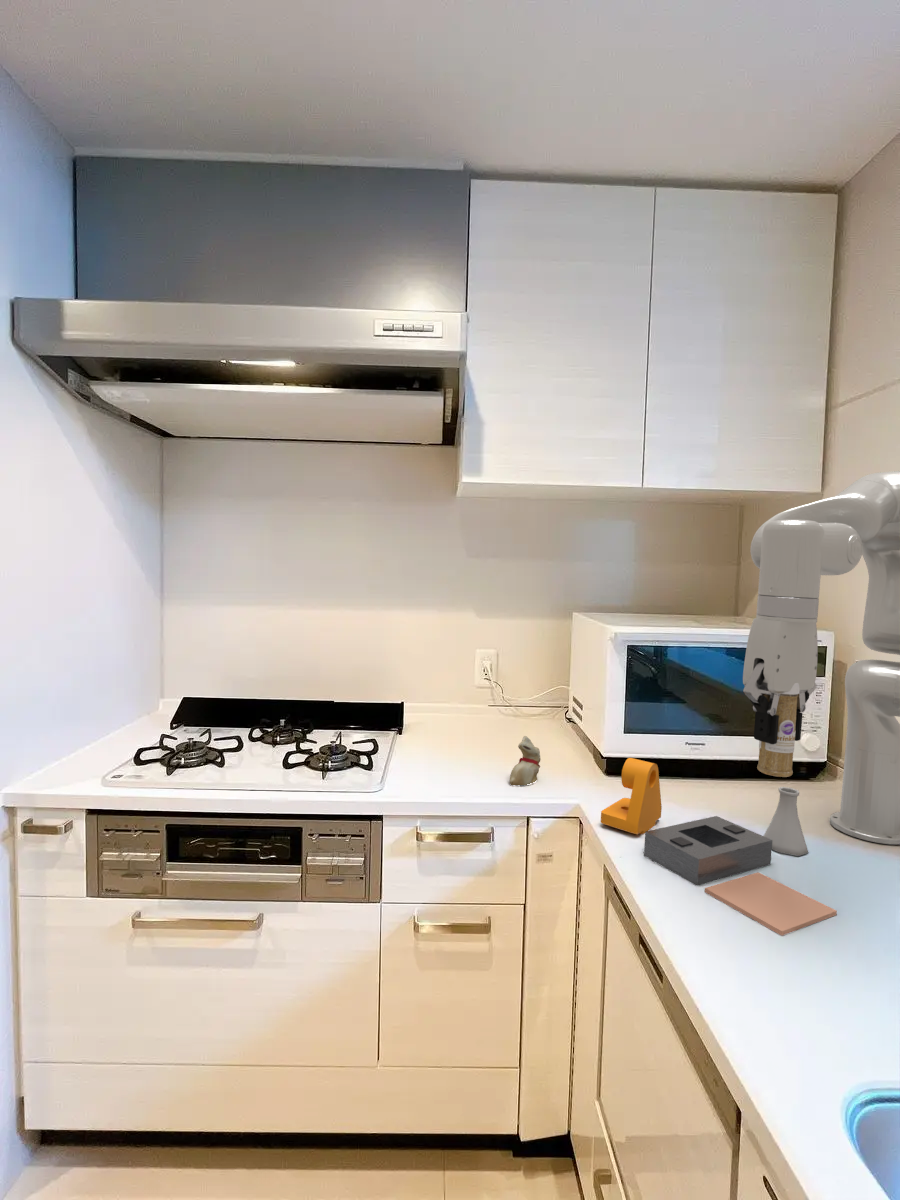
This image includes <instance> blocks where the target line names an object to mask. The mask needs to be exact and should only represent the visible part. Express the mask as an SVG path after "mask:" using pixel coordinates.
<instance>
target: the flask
mask: <svg viewBox="0 0 900 1200" xmlns="http://www.w3.org/2000/svg"><path fill="white" fill-rule="evenodd" d="M777 791H778V792H779V801H778V804H777V806H776V807H777V808H776V810H775V812H774V814H773V817H772V819H771V821H770V823H769V825H768V827H767V828H766V830H765V833H764V834H763V836H764V837H766V838H769V839H771V840H772V850H773V851H775V852H778V853H780V854H785V855H790V856H791V855H792V856H796V857H800V856H803V855H806V854H808V853H809V849H808V846H807V842H806V839H805V836H804V833H803V829H802V825H801V822H800V818H799V815H798V814H799V813H798V796H800V791H799V789H796V788H793V787H788V786H787V787H786V786H780V787H778V790H777Z"/></svg>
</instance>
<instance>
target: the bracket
mask: <svg viewBox="0 0 900 1200" xmlns="http://www.w3.org/2000/svg"><path fill="white" fill-rule="evenodd" d="M659 773H660V771H659V767H658V764H657V763H655V762H650V761H645V760H641V759H637V758H634V757H627V759H626V760H625V762H624V764H623V766H622V769H621V785H622V787H624V788H626V789H630V790H631V795H630V798H629V797H622V798H621V799H619V800H618V801H616V802H614V803H611V804H610V805H609V806H607V807H605V808H604V809H602V810H601V811H600V823H601V824H603V825H605V826H608V827H611V828H615V829H618V830H621V831H625V832H628V833H631V834H634V835H645V831H650V830H652V828H654V827H655V826H656V824H657V823H656V822H657V821H658V820H659V819H661V818H662V808H663V806H662V797H661V785H660V776H659V775H660V774H659Z"/></svg>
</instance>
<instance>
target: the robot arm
mask: <svg viewBox="0 0 900 1200" xmlns="http://www.w3.org/2000/svg"><path fill="white" fill-rule="evenodd" d="M749 550H750V556H751V560H752V562H753V565H754V566H755V567H757V568H758V569H759V574H758V575H759V576H758V586H757V587H758V591H757V594H758V595H757V602H756V613H755V614H756V615H755V617H754V618H753V619H752V623H751V625H750V630H749V634H748V638H747V642H746V643H747V644H746V649H745V654H744V656H745V657H744V663H743V672H742V684H743V685H744V686H743V687H744V688H743V693H744V695H745V696H746V697H747V698H748V699H749V700H750V703H751V704H752V709H753V712H755V713H754V714H755V717H754V728H753V729H754V730H753V738H754V739H755V740H756V741H763V742H766V743H769V744H776V743H777V736H778V723H779V716H778V715H775V714H776V710H777V705H778V701H779V696H780V693H785V692H788V691H790V690H791V688H792V687H793V685H794V684H795V683H798V684H799V694H798V697H797V709H796V726H795V731H796V732H795V742H799V741H800V740H801V739H802V727H803V726H802V725H803V715H804V714H803V713H804V712H805V711H806V708H807V707H806V704H807V702H808V700H809V698H810V696H811V695H812V693H814V692H815V690H816V689H817V684H816V679H817V673H818V671H817V670H818V655H819V654H818V651H819V649H818V648H819V647H818V646H819V645H818V644H819V643H818V628H817V623H818V615H819V604H820V603H819V602H820V590H821V589H820V588H821V587H820V586H821V578H822V576H840V575H844V574H847V573H849V572H851V571H852V570H854V569H855V568H856V567H857V565H858V564H859V562H860V561H861V558H862V557H863V558H862V559H863V560H864V562H865V565H866V568H867V572H868V584H867V585H868V586H867V591H866V592H867V593H866V600H865V607H864V615H863V621H862V628H861V629H862V631H861V633H862V634H861V635H862V638H861V639H862V642H863V644H864V646H866V648H867V649H870V650H871V651H874V652H879V653H884V654H890V655H898V656H900V470H898V471H897V470H896V471H895V470H894V471H883V472H881V471H880V472H874V473H869V474H865V475H864V476H862V477H860V478H858V479H857V480H855V481H854V482H853V483H851V484H850V485H849V486H848V487H846V488H845V489H844V490H841V491H840V492H839V493H838V494H836V495H834V496H830V497H826V498H823V499H819V500H816V501H813V502H810V503H807V504H802V505H799V506H796V507H792V508H788V509H787V510H784V511H781V512H778V513H777V514H775V515H774V516H772V517H770V518H769V519H768V520H766V521H765V522H764V523H762V525H761V526H759V528H758V529H757V530H756V532H755V533H754V535H753V538H752V540H751V543H750V549H749ZM765 686H768V687H767V688H768V690H769V691H768V690H765ZM844 688H845V698H846V700H845V701H846V707H847V709H846V711H847V712H846V713H847V719H846V720H847V721H846V723H847V725H846V737H845V751H844V760H843V761H844V762H843V772H842V773H843V774H842V786H841V796H840V797H841V800H840V810H839V811H836V812H834V813H832V814H830V817H829V823H830V825H831V826H832V827H833V828H834V829H837V830H838V831H839V832H841V833H844V834H846V835H848V836H851V837H854V838H856V839H860V840H863V841H867V842H871V843H876V844H877V843H878V844H883V845H895V846H896V845H897V846H898V845H900V722H899V721H898V719H897V718H896V717H898V718H900V662H899V661H891V660H883V659H863V660H862V659H861V660H859V661H856V662H854V663H852V664H851V665H850V666H849V667H848V668H847V670H846V672H845V677H844ZM764 695H770V700H769V702H768V700H767V698H766V697H765V696H764Z"/></svg>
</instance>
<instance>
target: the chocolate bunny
mask: <svg viewBox="0 0 900 1200" xmlns="http://www.w3.org/2000/svg"><path fill="white" fill-rule="evenodd" d="M517 747H518V749H519V750H520V751H521V754H522V757H520V758H519V759H518V761H519V762H518V763H517V764H515V765H514V767H513V768H512V770H511V772H510V775H509V785H510V784H511V785H527V784H530V783H533V782H535V781H536V780H537V781H538V774H539V771H540V768H541V764H540V763H541V753H540V748H539V747H536V746H535V745H534V743H533V742H532V741H531V739H530V738H529V737H528V736H526V735H523V737H522V739H521V741H520V742H519V743H518V746H517ZM511 785H510V786H511Z"/></svg>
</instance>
